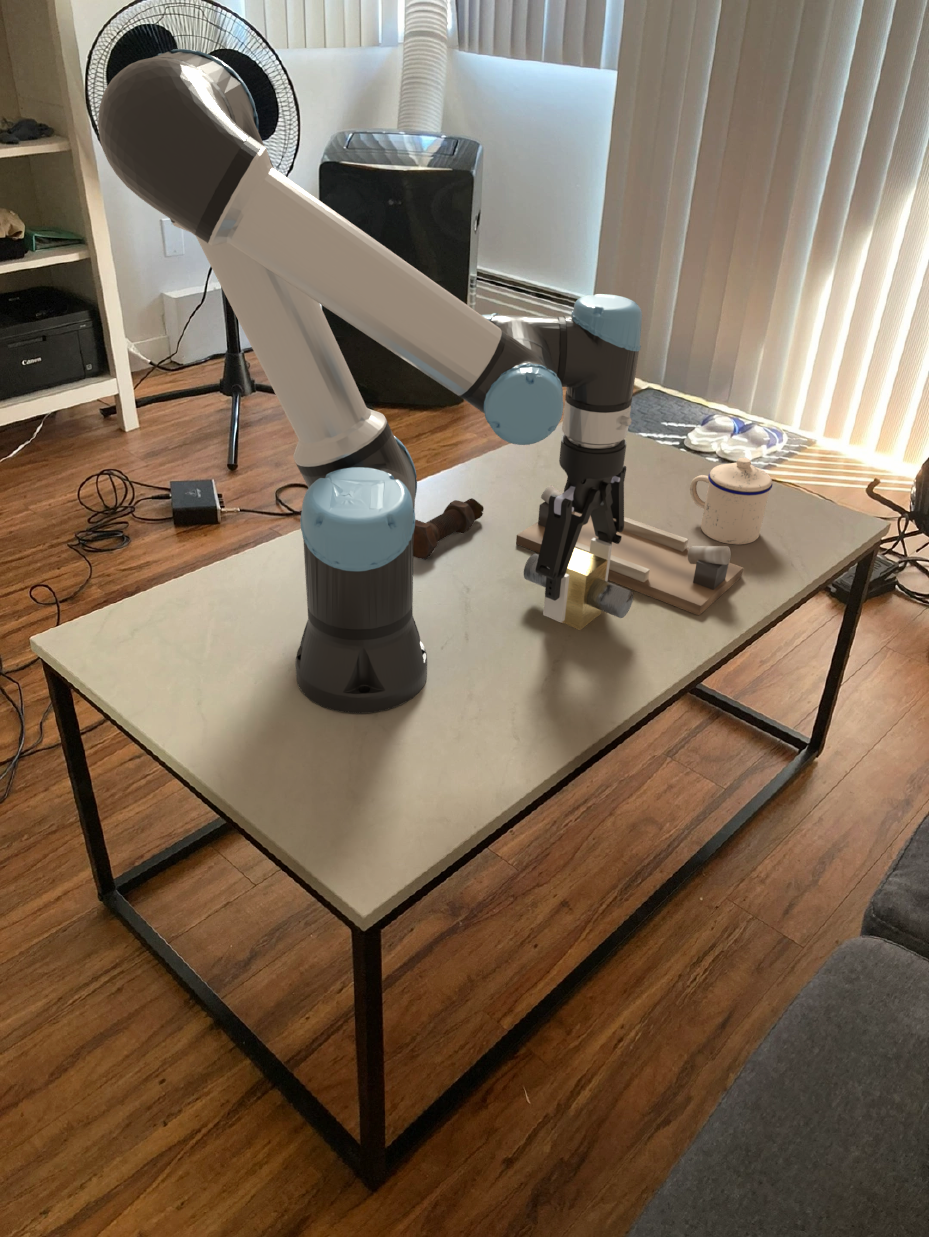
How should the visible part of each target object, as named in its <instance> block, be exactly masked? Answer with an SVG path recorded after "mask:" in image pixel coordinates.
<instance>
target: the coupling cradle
mask: <svg viewBox="0 0 929 1237" xmlns="http://www.w3.org/2000/svg"><path fill="white" fill-rule="evenodd" d="M562 493H563V492H561V491H560V490H558V489H557V488H556V487H554V486H553V485H552V484H549V485H548V486H546V488H545V489H544V490H543V492H542V493H541V496H540V499H541V500H543V501H544V502H542V503H540V504H539V508H538V509H539V510H538V518H537V520H538V521H537V522H535V523H533V524H531V526H529V527H527V528H525V529H524V530H522V531H521V532H519V533H517V534H516V540H515V541H516V542H515V544H516V545H517V546H519V547H522V548H525V549H528V550H530V551H533V552H536V553H538V554H539V553H540V548H541V544H542V539H543V535H544V531H545V526H546V522H547V517H548V508H549V498H550V496H551V495H552V494H555V495H558V496H560V495H561V494H562ZM572 514H574V515H577V516H581V515H582V514H580V513H577V512H574V511H573V512H572ZM613 520H614V521H616V519H614V518H613ZM616 534H617V535H620V536H622V538H621V541H620V543H619V544H616V543H614V542H612V550H611V558H610V565H609V573H608V580H607V581H608V582H609V581H610V582H612V583H613V584H616V585H618V586H621V587H624V588H626V589H629V590H631V591H635V592H637V593H640V594H642V595H645V596H648V597H651V598H653V599H656V600H658V601H661V602H663V603H666V604H668V605H671V606H674V607H676V608H679V609H681V610H683V611H686V612H689V613H691V614H693V615H697V616H701V615H702V613H704V612H706V610H708V608H709V607H710V606H712V604H714V603H715V602H716V601H717V600H718V599H719V598H720V597H721V596H722V595H723V594H725V593H726V591H728V590H729V589H730V588H731V587H732V586H733V585H734V584H735V583H736V582H738V581H739V580H740V579H741V578H742V575H743V571H744V567H743V566H739V565H737V564H734V563H732V562H730V560H731V557H732V555H731V554H732V553H731V549H730V547H729V546H727V545H719V546H718V545H692V546H690V547H688V542H689V538H686V537H684V536H681V535H678V534H675V533H671V532H669V531H667V530H663V529H660V528H658V527H654V526H652V525H649V524H647V523H644V522H641V521H637V520H635V519H632V518H629V517H626V516H624V529H623V531H622V532H621V533H620V532H617V533H616ZM593 538H596V539H598V537H597V536H596V535H595V531H594V527H593V523H592V519H591V515H590V518H589V520H588V523H587V524H585V525H583V526H582V529H581V531H580V534H579V537H578V540H577V543H576V546H575V548H577V549H580V550H582V551H585V552H588V553H589V552H590V544H591V539H593Z"/></svg>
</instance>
